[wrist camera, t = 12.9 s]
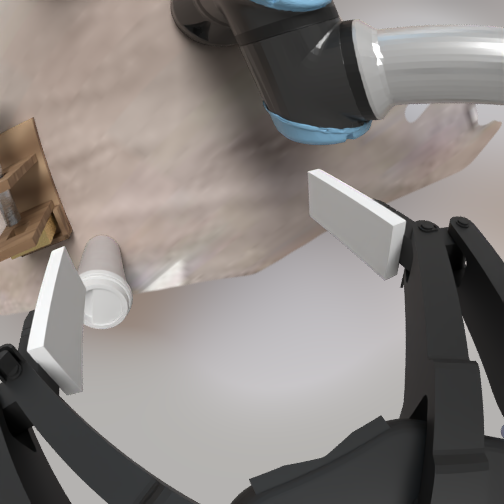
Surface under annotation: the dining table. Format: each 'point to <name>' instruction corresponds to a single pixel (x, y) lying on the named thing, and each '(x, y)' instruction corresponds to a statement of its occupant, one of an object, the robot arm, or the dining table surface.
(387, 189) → the dining table surface
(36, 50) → the dining table surface
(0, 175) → the shaft
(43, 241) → the tan wooden piece
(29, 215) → the bracket
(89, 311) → the coffee cup
